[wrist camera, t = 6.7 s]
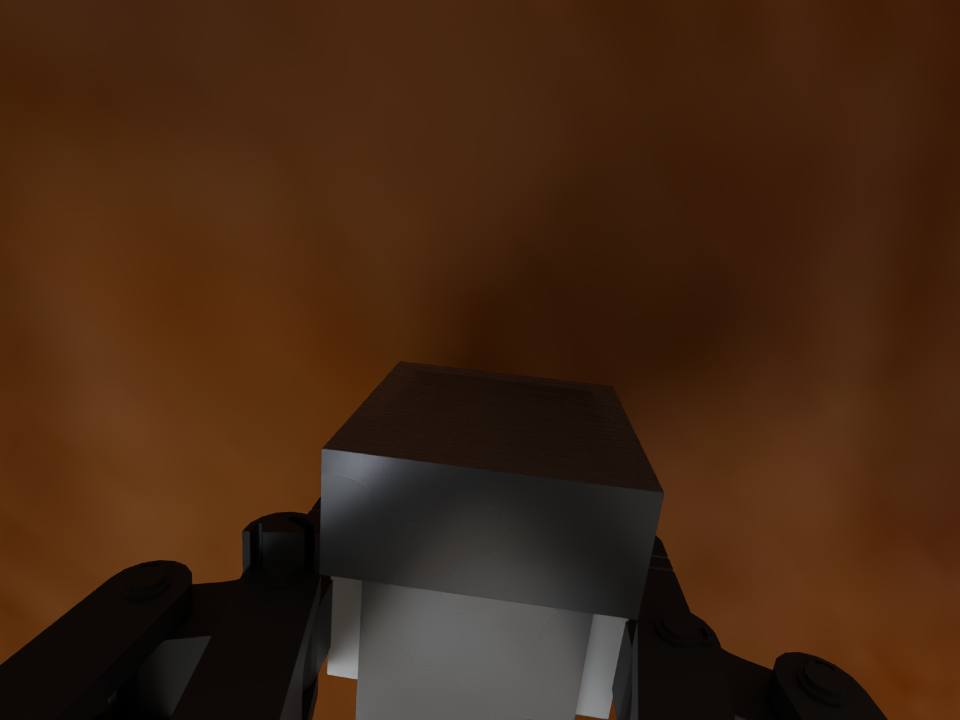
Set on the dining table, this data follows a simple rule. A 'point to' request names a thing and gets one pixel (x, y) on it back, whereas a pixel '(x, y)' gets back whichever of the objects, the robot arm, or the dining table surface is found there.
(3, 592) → the dining table surface
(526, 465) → the shaft
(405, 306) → the dining table surface
